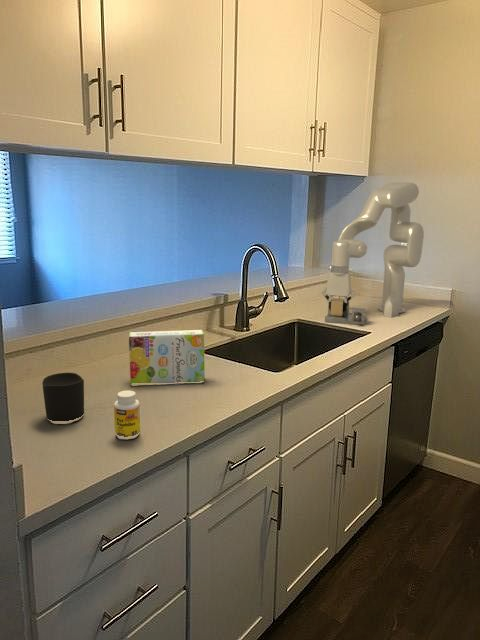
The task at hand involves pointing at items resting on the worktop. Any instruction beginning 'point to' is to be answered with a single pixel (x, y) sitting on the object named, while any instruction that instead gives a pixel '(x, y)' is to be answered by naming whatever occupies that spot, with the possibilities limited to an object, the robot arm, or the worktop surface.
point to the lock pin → (358, 316)
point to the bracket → (346, 317)
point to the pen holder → (63, 396)
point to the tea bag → (391, 306)
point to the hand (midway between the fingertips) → (337, 310)
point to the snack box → (166, 356)
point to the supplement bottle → (127, 414)
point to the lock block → (337, 307)
